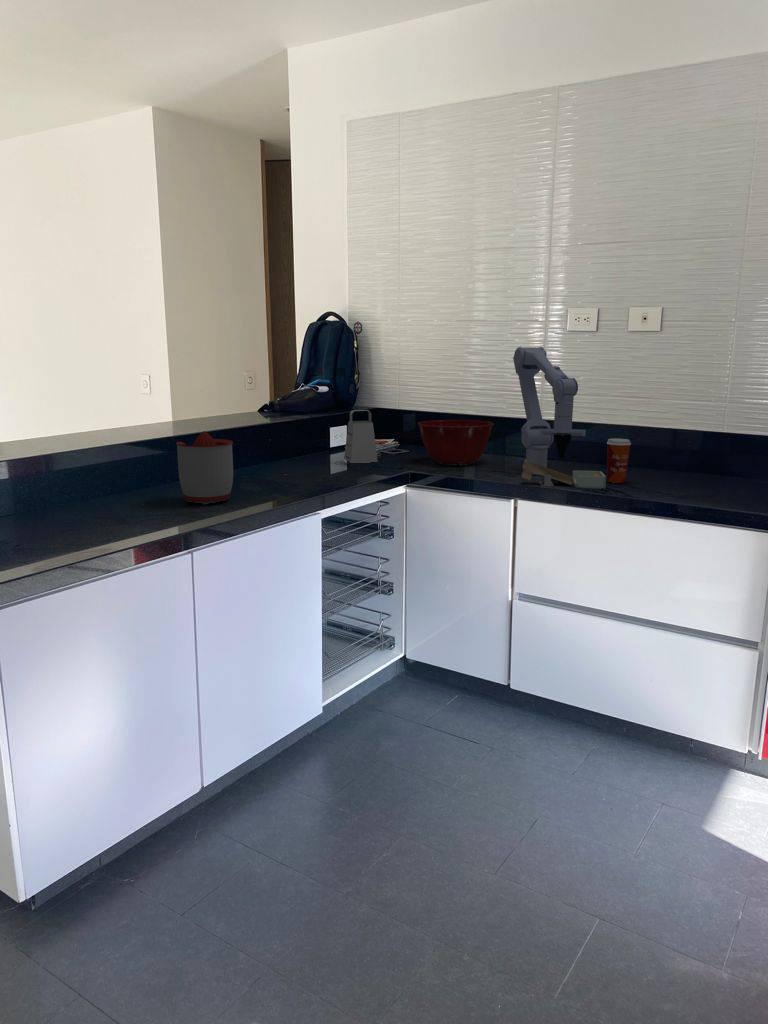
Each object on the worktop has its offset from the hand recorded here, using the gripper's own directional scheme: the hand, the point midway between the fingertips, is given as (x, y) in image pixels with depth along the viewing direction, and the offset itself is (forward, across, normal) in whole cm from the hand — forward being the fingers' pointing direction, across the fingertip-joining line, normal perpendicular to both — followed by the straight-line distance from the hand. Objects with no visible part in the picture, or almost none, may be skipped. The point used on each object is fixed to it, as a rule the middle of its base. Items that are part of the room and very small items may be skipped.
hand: (561, 457), depth 245 cm
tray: (+8, +8, -7) cm, 13 cm away
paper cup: (+8, +18, 0) cm, 20 cm away
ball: (+5, +9, -7) cm, 12 cm away
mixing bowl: (+8, -35, +33) cm, 49 cm away
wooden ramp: (+8, -6, -4) cm, 10 cm away
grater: (+8, -70, +27) cm, 76 cm away
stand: (+8, -5, -7) cm, 12 cm away
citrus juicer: (+8, -104, -47) cm, 115 cm away
